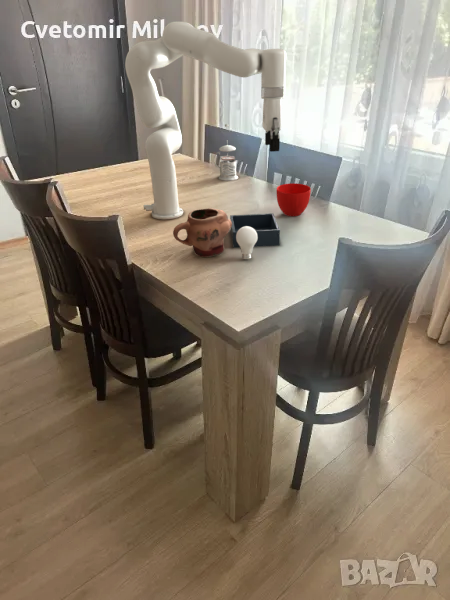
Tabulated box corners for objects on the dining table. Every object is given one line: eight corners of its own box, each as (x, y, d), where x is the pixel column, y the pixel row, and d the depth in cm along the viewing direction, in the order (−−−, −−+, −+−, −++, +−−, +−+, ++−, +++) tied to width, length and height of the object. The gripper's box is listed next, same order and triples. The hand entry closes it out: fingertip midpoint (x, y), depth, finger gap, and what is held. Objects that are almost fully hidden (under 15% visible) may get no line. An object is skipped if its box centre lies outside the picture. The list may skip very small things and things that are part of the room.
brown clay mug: (186, 268, 137) (182, 226, 130) (168, 254, 146) (164, 214, 138) (240, 252, 146) (239, 211, 138) (220, 239, 155) (219, 201, 147)
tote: (233, 247, 148) (232, 232, 146) (230, 229, 162) (230, 215, 159) (279, 245, 149) (280, 230, 146) (273, 227, 162) (273, 213, 159)
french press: (238, 180, 214) (237, 125, 201) (214, 180, 214) (211, 126, 201) (238, 174, 222) (237, 121, 209) (215, 175, 223) (212, 122, 209)
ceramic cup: (313, 205, 180) (315, 181, 175) (305, 221, 167) (307, 195, 161) (282, 203, 184) (283, 179, 179) (272, 217, 170) (272, 192, 165)
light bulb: (235, 255, 143) (234, 223, 138) (255, 254, 144) (255, 222, 138) (237, 264, 138) (236, 232, 132) (258, 263, 138) (259, 230, 132)
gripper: (257, 90, 150) (257, 143, 158) (265, 97, 135) (264, 154, 144) (279, 89, 150) (278, 141, 159) (289, 95, 135) (287, 153, 144)
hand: (272, 147), depth 151 cm, fingers open, 9 cm apart
